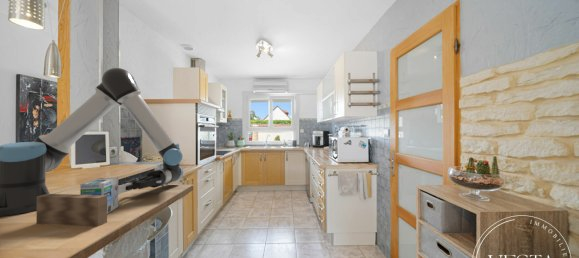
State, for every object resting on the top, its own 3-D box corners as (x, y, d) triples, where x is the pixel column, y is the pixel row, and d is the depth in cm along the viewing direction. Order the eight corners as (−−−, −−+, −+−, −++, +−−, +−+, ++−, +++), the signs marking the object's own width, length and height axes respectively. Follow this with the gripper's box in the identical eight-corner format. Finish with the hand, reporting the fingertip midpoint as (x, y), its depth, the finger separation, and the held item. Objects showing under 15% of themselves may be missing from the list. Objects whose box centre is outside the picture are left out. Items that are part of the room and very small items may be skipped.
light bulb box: (104, 216, 75) (104, 182, 75) (78, 218, 73) (79, 184, 73) (119, 206, 85) (119, 176, 85) (97, 208, 83) (97, 177, 84)
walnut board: (36, 223, 69) (36, 196, 69) (47, 219, 72) (48, 193, 72) (97, 226, 67) (98, 198, 67) (107, 222, 70) (107, 195, 70)
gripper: (171, 186, 108) (133, 201, 84) (145, 185, 109) (99, 200, 86) (172, 169, 108) (133, 180, 85) (145, 169, 109) (100, 179, 86)
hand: (116, 190), depth 85 cm, fingers closed
